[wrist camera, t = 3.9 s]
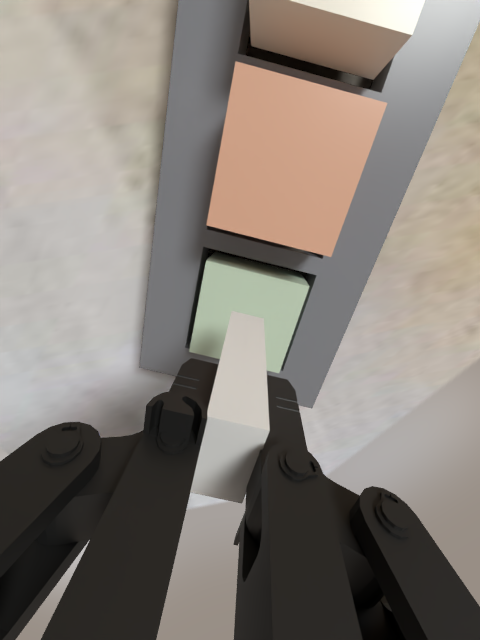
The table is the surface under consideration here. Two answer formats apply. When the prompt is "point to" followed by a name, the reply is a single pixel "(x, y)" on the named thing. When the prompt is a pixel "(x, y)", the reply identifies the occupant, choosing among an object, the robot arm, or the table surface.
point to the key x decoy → (290, 158)
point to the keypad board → (322, 271)
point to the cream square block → (335, 31)
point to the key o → (247, 304)
